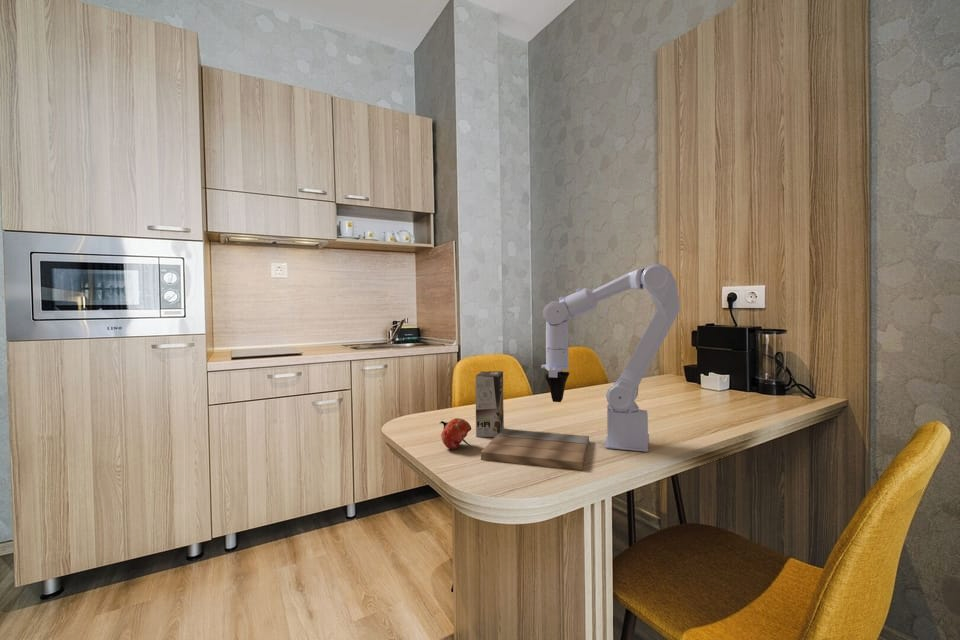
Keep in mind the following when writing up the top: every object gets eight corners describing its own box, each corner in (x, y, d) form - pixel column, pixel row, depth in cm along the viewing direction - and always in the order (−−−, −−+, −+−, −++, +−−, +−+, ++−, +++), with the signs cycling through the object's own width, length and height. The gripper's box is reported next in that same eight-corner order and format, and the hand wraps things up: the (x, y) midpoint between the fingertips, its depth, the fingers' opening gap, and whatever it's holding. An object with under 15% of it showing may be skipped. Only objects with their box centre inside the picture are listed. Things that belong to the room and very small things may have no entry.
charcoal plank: (589, 442, 106) (589, 436, 106) (586, 450, 99) (586, 443, 99) (504, 434, 113) (504, 429, 113) (496, 441, 106) (496, 435, 106)
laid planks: (586, 451, 99) (586, 444, 99) (581, 470, 87) (581, 462, 87) (496, 442, 106) (496, 436, 106) (480, 459, 94) (480, 451, 94)
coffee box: (499, 438, 110) (498, 376, 109) (475, 437, 111) (474, 375, 110) (504, 428, 119) (503, 370, 118) (482, 427, 120) (481, 370, 119)
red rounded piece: (471, 451, 106) (441, 425, 108) (486, 431, 104) (456, 405, 106) (459, 465, 99) (427, 437, 102) (475, 444, 97) (442, 415, 99)
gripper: (546, 345, 117) (546, 394, 118) (536, 351, 104) (536, 406, 104) (572, 346, 115) (572, 395, 115) (565, 351, 101) (565, 408, 102)
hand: (557, 400), depth 110 cm, fingers closed
